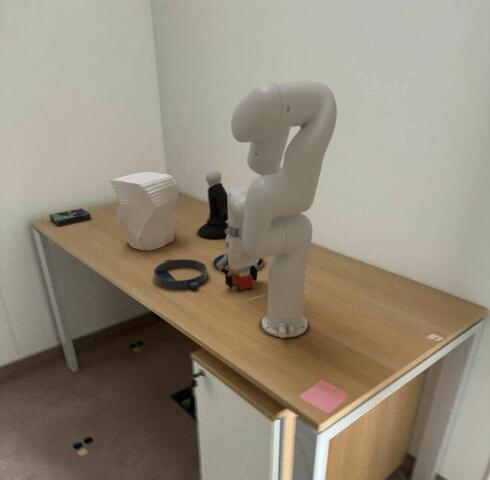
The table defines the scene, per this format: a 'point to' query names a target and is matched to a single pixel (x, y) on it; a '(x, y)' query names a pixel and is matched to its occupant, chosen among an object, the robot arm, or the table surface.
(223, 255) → the lid
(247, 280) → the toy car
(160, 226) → the paper stack
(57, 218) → the disk drive
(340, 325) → the table surface
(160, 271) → the pot
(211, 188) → the sculpture
